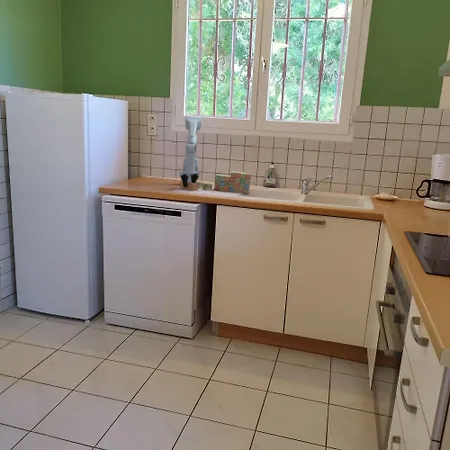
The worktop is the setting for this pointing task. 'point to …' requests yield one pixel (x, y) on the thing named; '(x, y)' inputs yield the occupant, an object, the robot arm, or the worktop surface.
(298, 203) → the worktop surface
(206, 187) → the pillar
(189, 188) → the beam
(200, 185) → the pillar
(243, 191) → the stack of blocks
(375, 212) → the worktop surface
